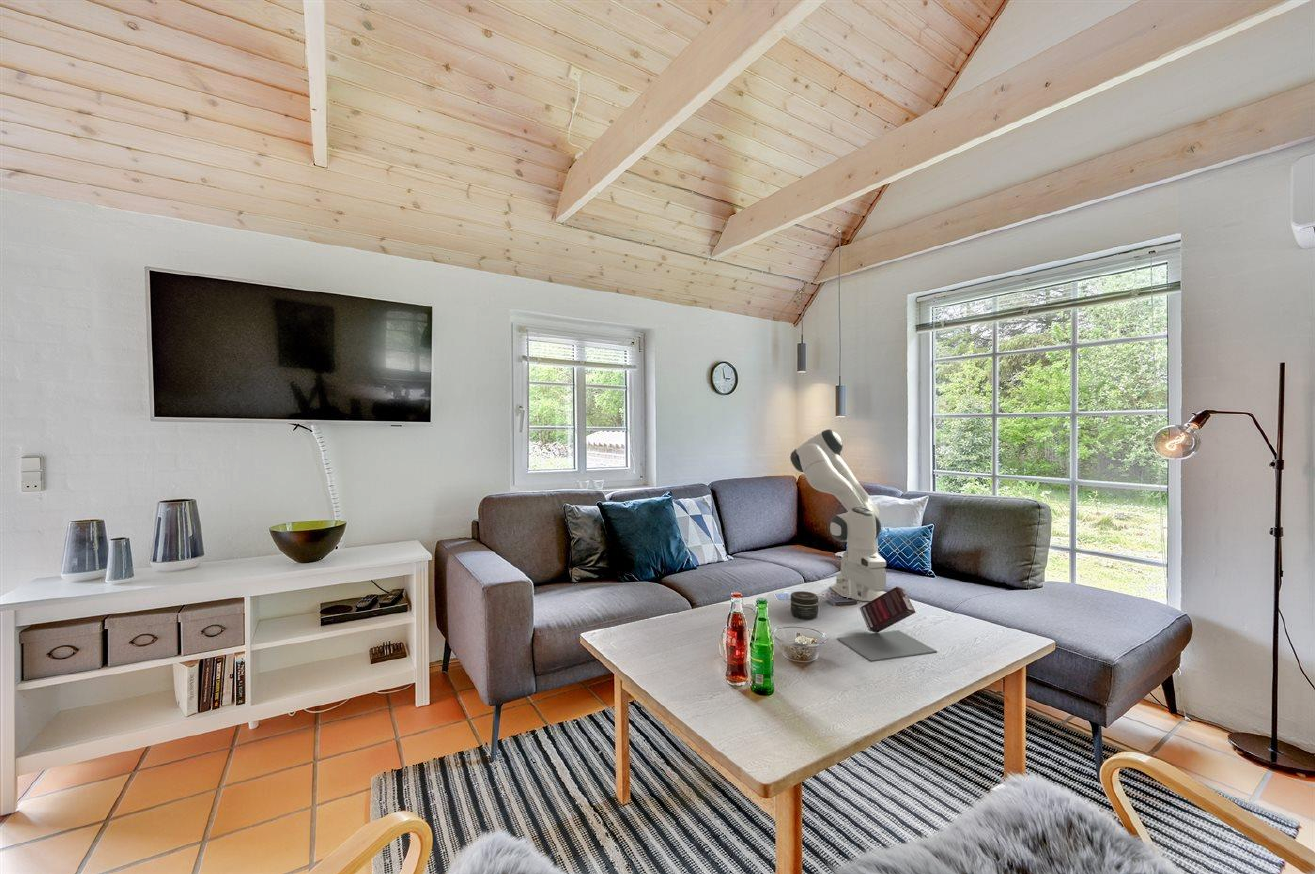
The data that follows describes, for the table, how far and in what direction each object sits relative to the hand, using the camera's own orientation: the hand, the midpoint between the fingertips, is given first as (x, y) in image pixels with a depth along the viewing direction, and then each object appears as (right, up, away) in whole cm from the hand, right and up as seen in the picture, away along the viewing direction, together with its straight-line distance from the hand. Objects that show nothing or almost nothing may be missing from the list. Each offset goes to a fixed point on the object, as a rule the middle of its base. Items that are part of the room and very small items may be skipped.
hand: (861, 596), depth 178 cm
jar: (-15, -12, +16) cm, 25 cm away
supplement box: (+2, -9, +1) cm, 9 cm away
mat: (+3, -12, -11) cm, 17 cm away
